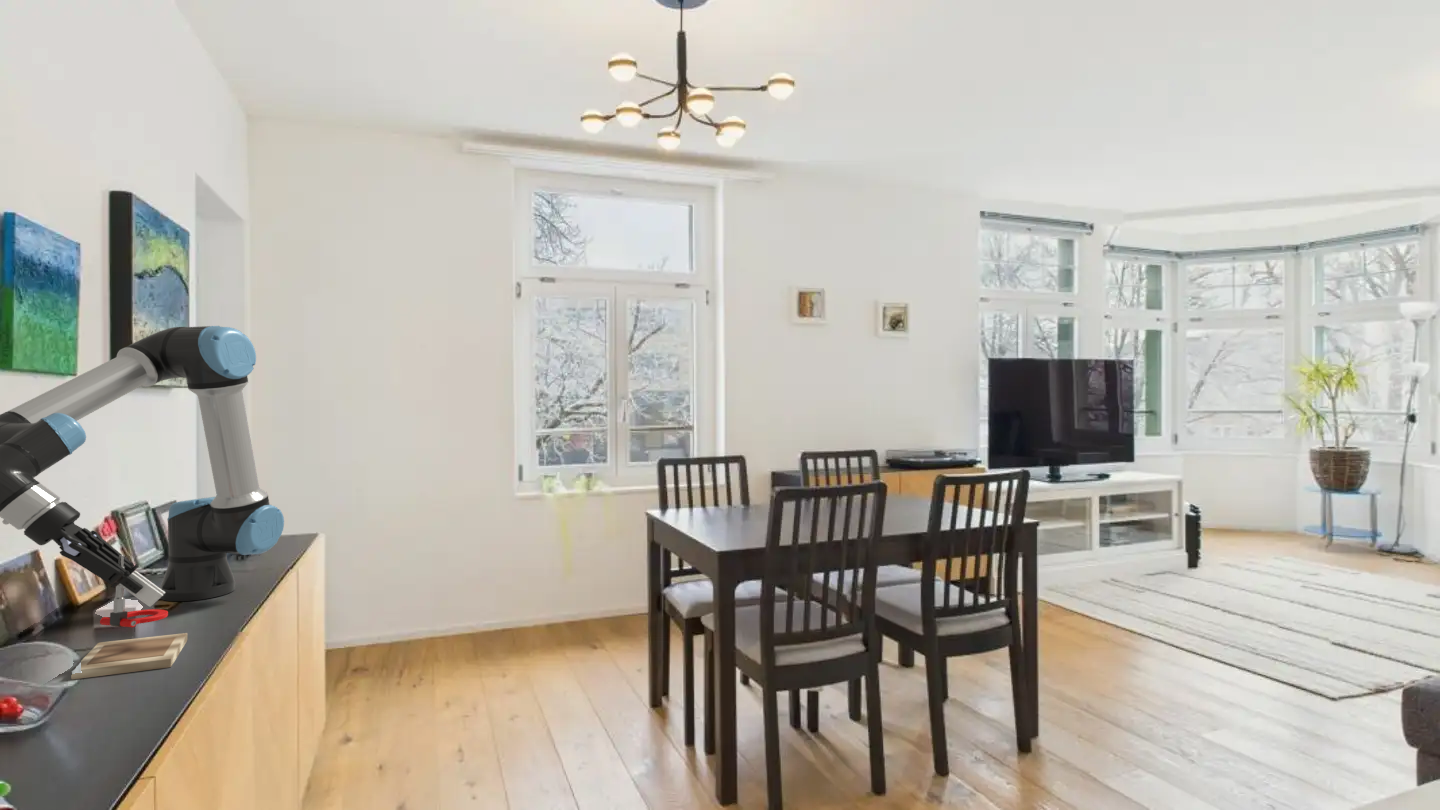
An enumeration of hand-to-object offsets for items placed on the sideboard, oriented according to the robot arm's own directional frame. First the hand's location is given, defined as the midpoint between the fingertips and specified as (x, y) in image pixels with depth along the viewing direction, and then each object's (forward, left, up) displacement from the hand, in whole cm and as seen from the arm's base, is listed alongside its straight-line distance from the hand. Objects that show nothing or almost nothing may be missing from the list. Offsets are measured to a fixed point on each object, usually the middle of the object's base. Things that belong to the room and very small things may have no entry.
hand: (157, 599), depth 141 cm
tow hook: (-3, -4, -4) cm, 6 cm away
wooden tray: (0, -4, -11) cm, 11 cm away
